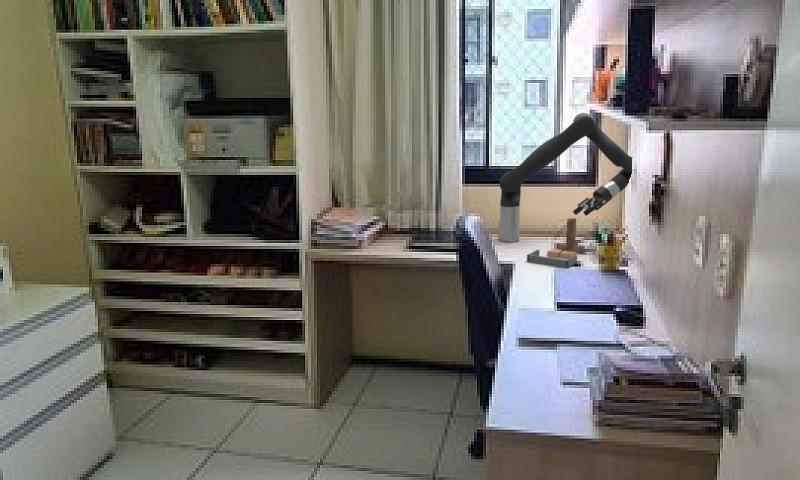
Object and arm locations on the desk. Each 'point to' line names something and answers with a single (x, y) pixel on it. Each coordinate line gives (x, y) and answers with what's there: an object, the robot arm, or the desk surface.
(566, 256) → the tile
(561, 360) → the desk surface
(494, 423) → the desk surface
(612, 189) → the robot arm
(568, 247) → the wooden peg stand
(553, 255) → the tile
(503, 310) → the desk surface
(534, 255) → the box
